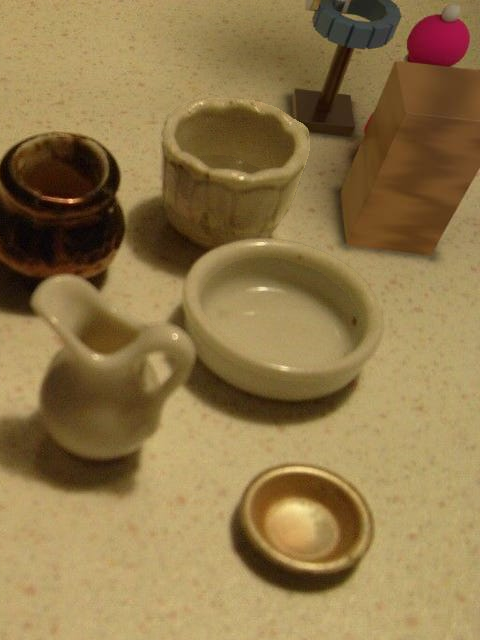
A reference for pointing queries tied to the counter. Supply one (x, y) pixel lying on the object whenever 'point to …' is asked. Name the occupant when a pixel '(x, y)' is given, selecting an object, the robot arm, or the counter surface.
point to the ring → (358, 23)
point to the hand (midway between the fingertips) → (324, 9)
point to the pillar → (414, 159)
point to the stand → (327, 100)
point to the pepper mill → (437, 40)
